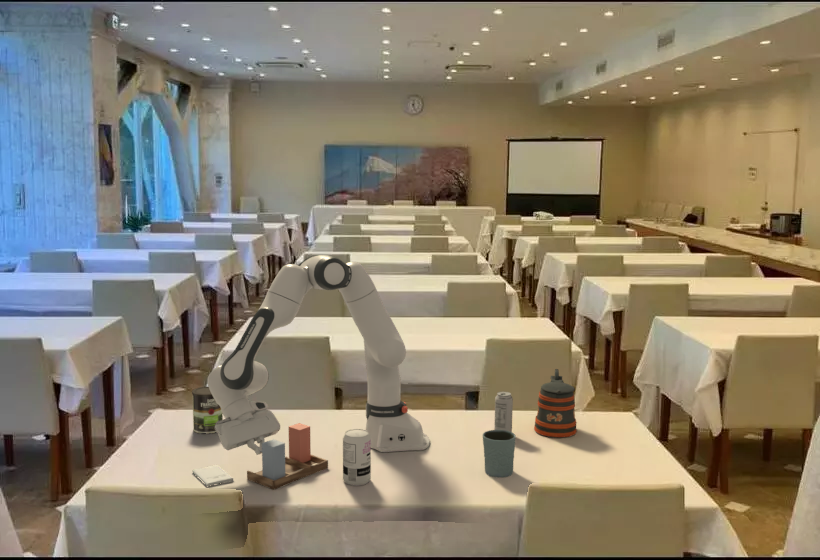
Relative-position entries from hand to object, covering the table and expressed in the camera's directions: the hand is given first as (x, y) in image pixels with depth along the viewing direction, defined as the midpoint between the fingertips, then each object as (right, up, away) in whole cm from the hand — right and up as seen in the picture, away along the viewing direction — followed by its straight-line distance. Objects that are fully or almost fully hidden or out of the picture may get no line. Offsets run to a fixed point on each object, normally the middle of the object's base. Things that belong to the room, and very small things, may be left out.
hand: (262, 452), depth 253 cm
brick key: (+10, -5, +12) cm, 16 cm away
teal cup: (+71, -8, +8) cm, 72 cm away
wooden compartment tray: (+6, -7, +6) cm, 11 cm away
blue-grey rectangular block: (+4, -7, -2) cm, 9 cm away
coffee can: (-27, -1, +44) cm, 52 cm away
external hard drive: (-15, -8, +2) cm, 17 cm away
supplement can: (+28, -9, 0) cm, 30 cm away
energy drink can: (+76, -2, +40) cm, 86 cm away
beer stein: (+95, -2, +47) cm, 106 cm away
